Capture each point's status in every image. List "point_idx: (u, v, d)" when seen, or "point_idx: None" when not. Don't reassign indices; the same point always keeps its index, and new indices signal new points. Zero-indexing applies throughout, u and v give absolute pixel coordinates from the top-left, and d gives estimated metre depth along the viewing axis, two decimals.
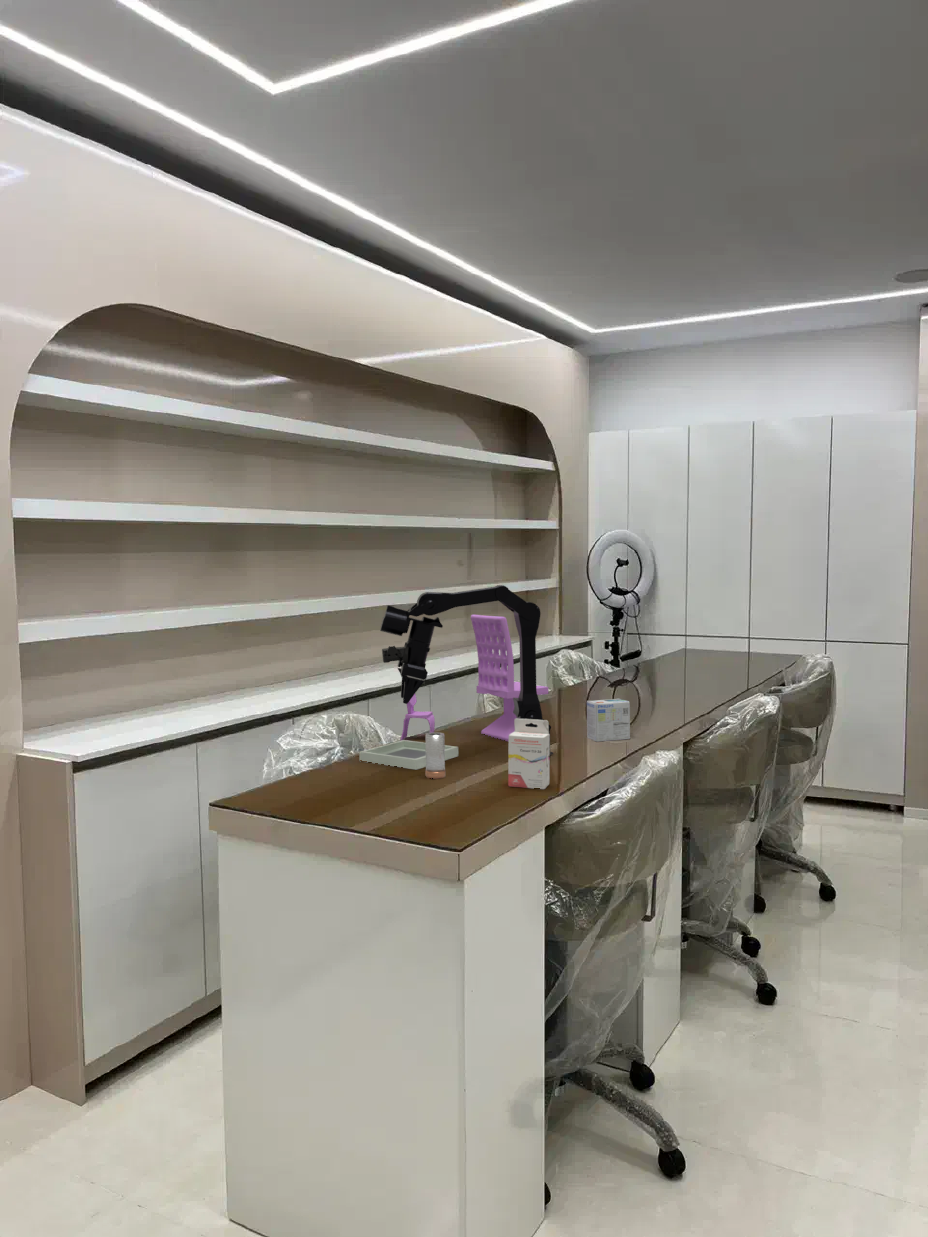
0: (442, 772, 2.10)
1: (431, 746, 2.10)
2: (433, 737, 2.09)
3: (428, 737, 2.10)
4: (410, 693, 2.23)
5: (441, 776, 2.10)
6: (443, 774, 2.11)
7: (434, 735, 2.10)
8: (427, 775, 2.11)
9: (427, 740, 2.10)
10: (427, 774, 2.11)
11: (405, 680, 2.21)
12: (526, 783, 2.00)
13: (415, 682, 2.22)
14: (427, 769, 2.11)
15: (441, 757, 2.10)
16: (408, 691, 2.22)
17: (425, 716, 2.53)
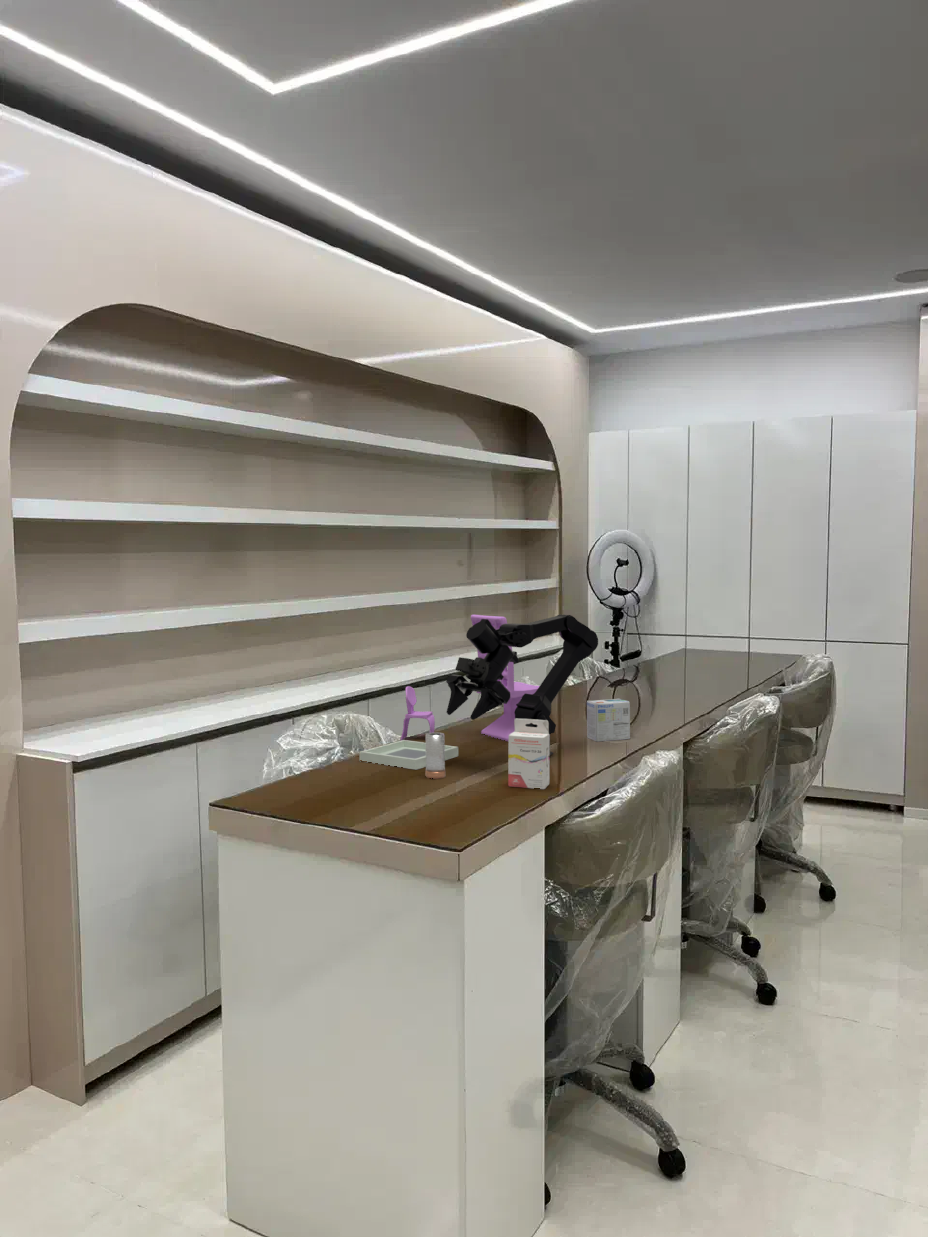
0: (442, 772, 2.10)
1: (431, 746, 2.10)
2: (433, 737, 2.09)
3: (428, 737, 2.10)
4: (482, 711, 2.14)
5: (441, 776, 2.10)
6: (443, 774, 2.11)
7: (434, 735, 2.10)
8: (427, 775, 2.11)
9: (427, 740, 2.10)
10: (427, 774, 2.11)
11: (486, 696, 2.13)
12: (526, 783, 2.00)
13: (490, 702, 2.15)
14: (427, 769, 2.11)
15: (441, 757, 2.10)
16: (481, 708, 2.14)
17: (425, 716, 2.53)
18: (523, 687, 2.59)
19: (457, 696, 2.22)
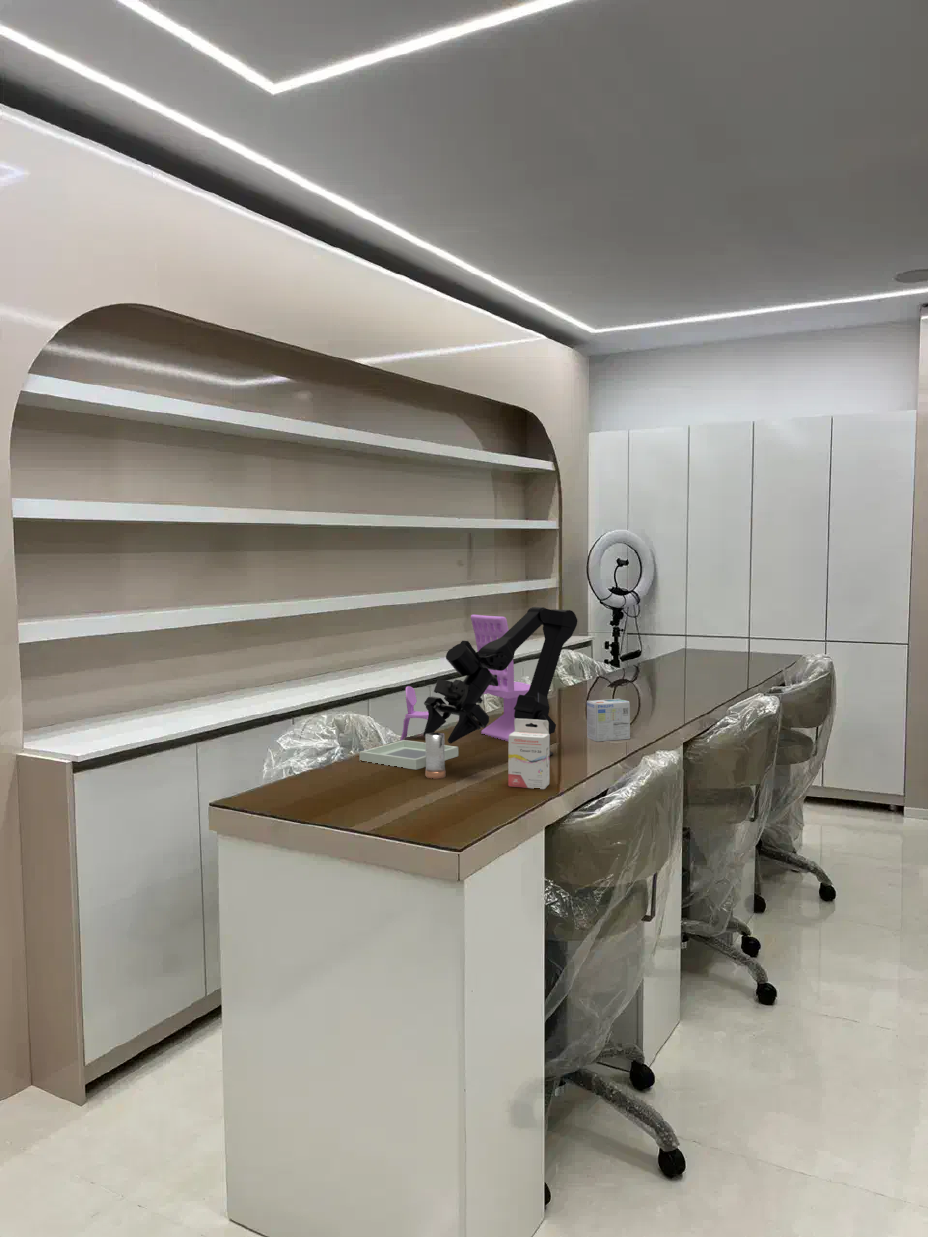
0: (442, 772, 2.10)
1: (431, 746, 2.10)
2: (433, 737, 2.09)
3: (428, 737, 2.10)
4: (459, 734, 2.09)
5: (441, 776, 2.10)
6: (443, 774, 2.11)
7: (434, 735, 2.10)
8: (427, 775, 2.11)
9: (427, 740, 2.10)
10: (427, 774, 2.11)
11: (464, 719, 2.08)
12: (526, 783, 2.00)
13: (469, 726, 2.10)
14: (427, 769, 2.11)
15: (441, 757, 2.10)
16: (459, 732, 2.09)
17: (425, 716, 2.53)
18: (523, 687, 2.59)
19: (435, 719, 2.18)
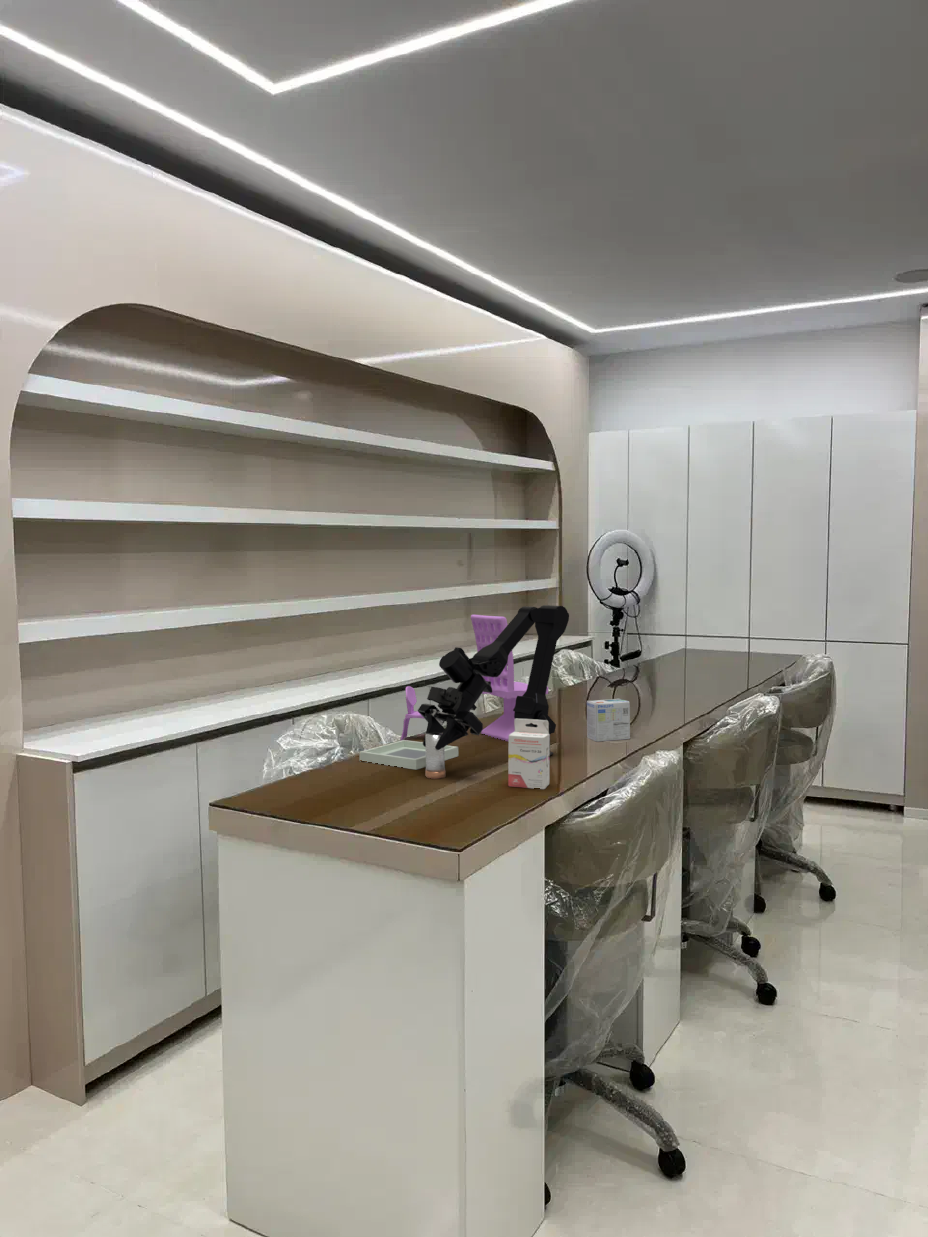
0: (442, 772, 2.10)
1: (431, 746, 2.10)
2: (433, 737, 2.09)
3: (428, 737, 2.10)
4: (447, 741, 2.10)
5: (441, 776, 2.10)
6: (443, 774, 2.11)
7: (434, 735, 2.10)
8: (427, 775, 2.11)
9: (427, 740, 2.10)
10: (427, 774, 2.11)
11: (451, 726, 2.09)
12: (526, 783, 2.00)
13: (456, 732, 2.11)
14: (427, 769, 2.11)
15: (441, 757, 2.10)
16: (447, 738, 2.09)
17: None
18: (523, 687, 2.59)
19: (434, 727, 2.15)
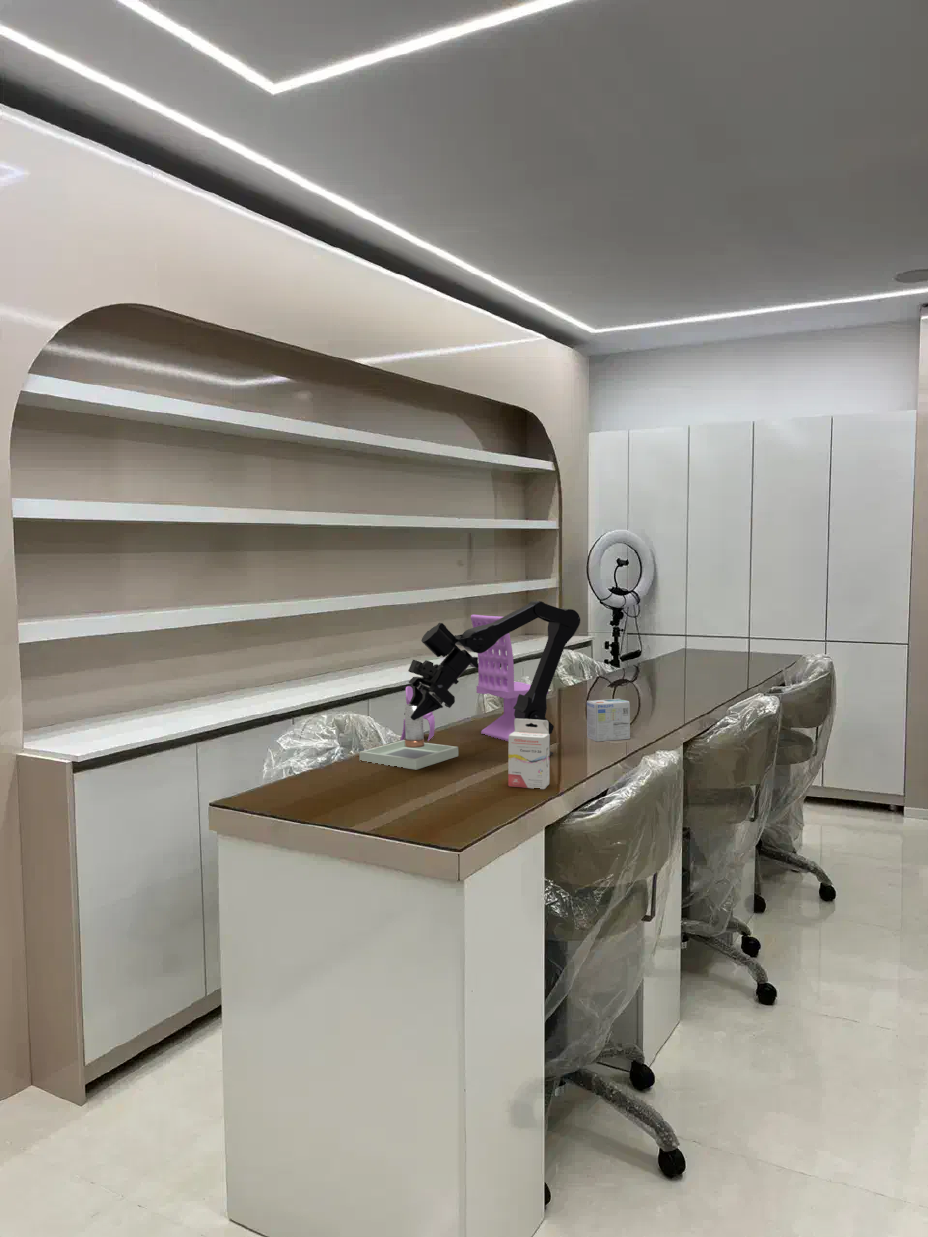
0: (418, 742, 2.19)
1: (407, 716, 2.19)
2: (409, 707, 2.19)
3: (405, 707, 2.19)
4: (422, 712, 2.18)
5: (417, 745, 2.19)
6: (420, 744, 2.19)
7: (411, 706, 2.19)
8: (405, 744, 2.20)
9: (405, 710, 2.20)
10: (405, 743, 2.20)
11: (426, 697, 2.17)
12: (526, 783, 2.00)
13: (432, 704, 2.18)
14: None
15: (417, 727, 2.19)
16: (422, 709, 2.18)
17: (425, 716, 2.53)
18: (523, 687, 2.59)
19: (417, 699, 2.24)
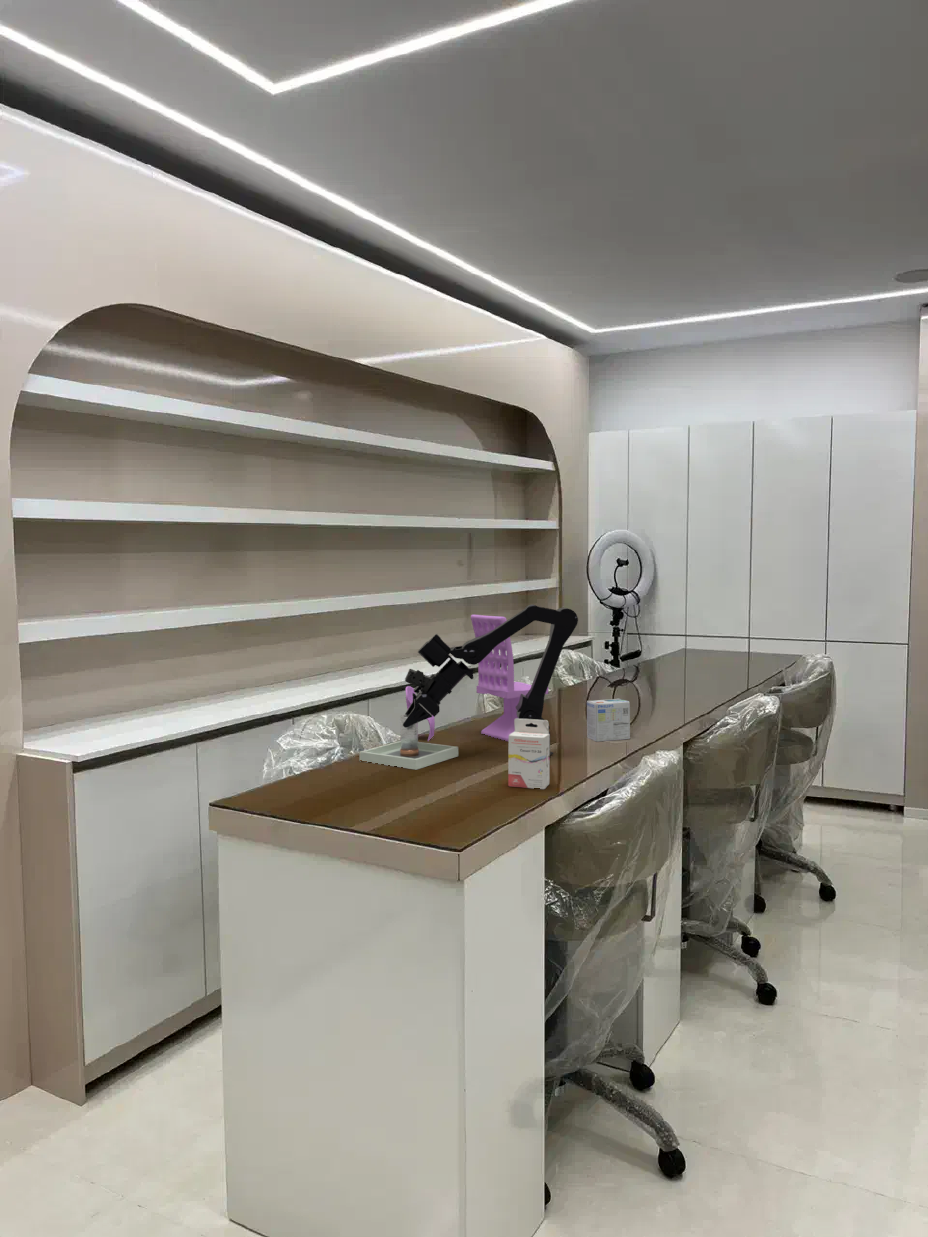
0: (411, 751, 2.29)
1: (401, 726, 2.30)
2: (402, 718, 2.29)
3: (400, 718, 2.30)
4: (413, 720, 2.26)
5: (409, 755, 2.29)
6: (412, 753, 2.29)
7: (405, 716, 2.30)
8: (400, 752, 2.31)
9: (400, 720, 2.31)
10: (400, 751, 2.31)
11: (416, 706, 2.25)
12: (526, 783, 2.00)
13: (423, 713, 2.26)
14: None
15: (410, 737, 2.29)
16: (413, 717, 2.26)
17: None
18: (523, 687, 2.59)
19: None
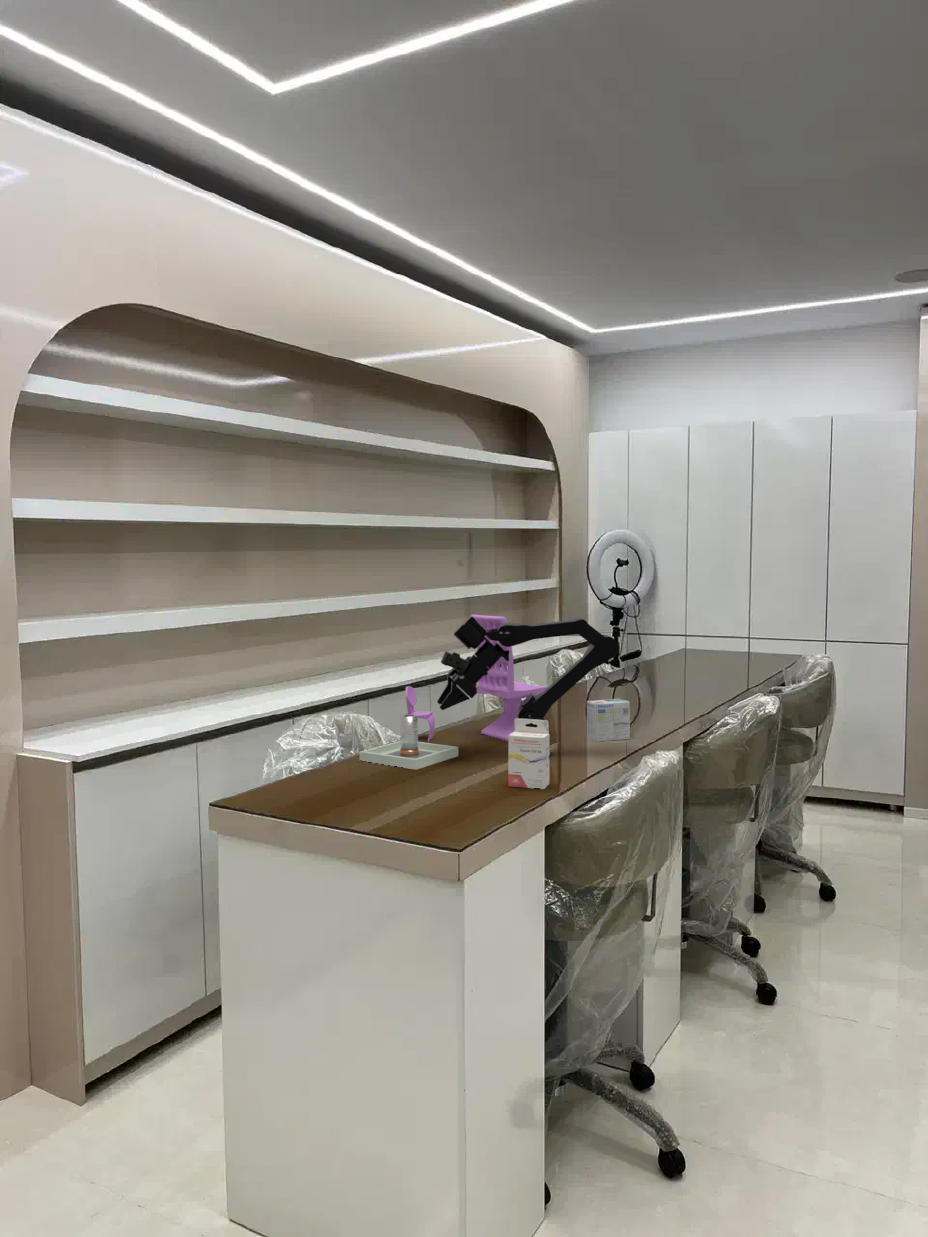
0: (411, 751, 2.29)
1: (401, 726, 2.30)
2: (402, 718, 2.29)
3: (400, 718, 2.30)
4: (450, 702, 2.26)
5: (409, 755, 2.29)
6: (412, 753, 2.29)
7: (405, 716, 2.30)
8: (400, 752, 2.31)
9: (400, 720, 2.31)
10: (400, 751, 2.31)
11: (453, 689, 2.25)
12: (526, 783, 2.00)
13: (460, 695, 2.26)
14: None
15: (410, 737, 2.29)
16: (450, 700, 2.26)
17: (425, 716, 2.53)
18: (523, 687, 2.59)
19: (450, 688, 2.36)
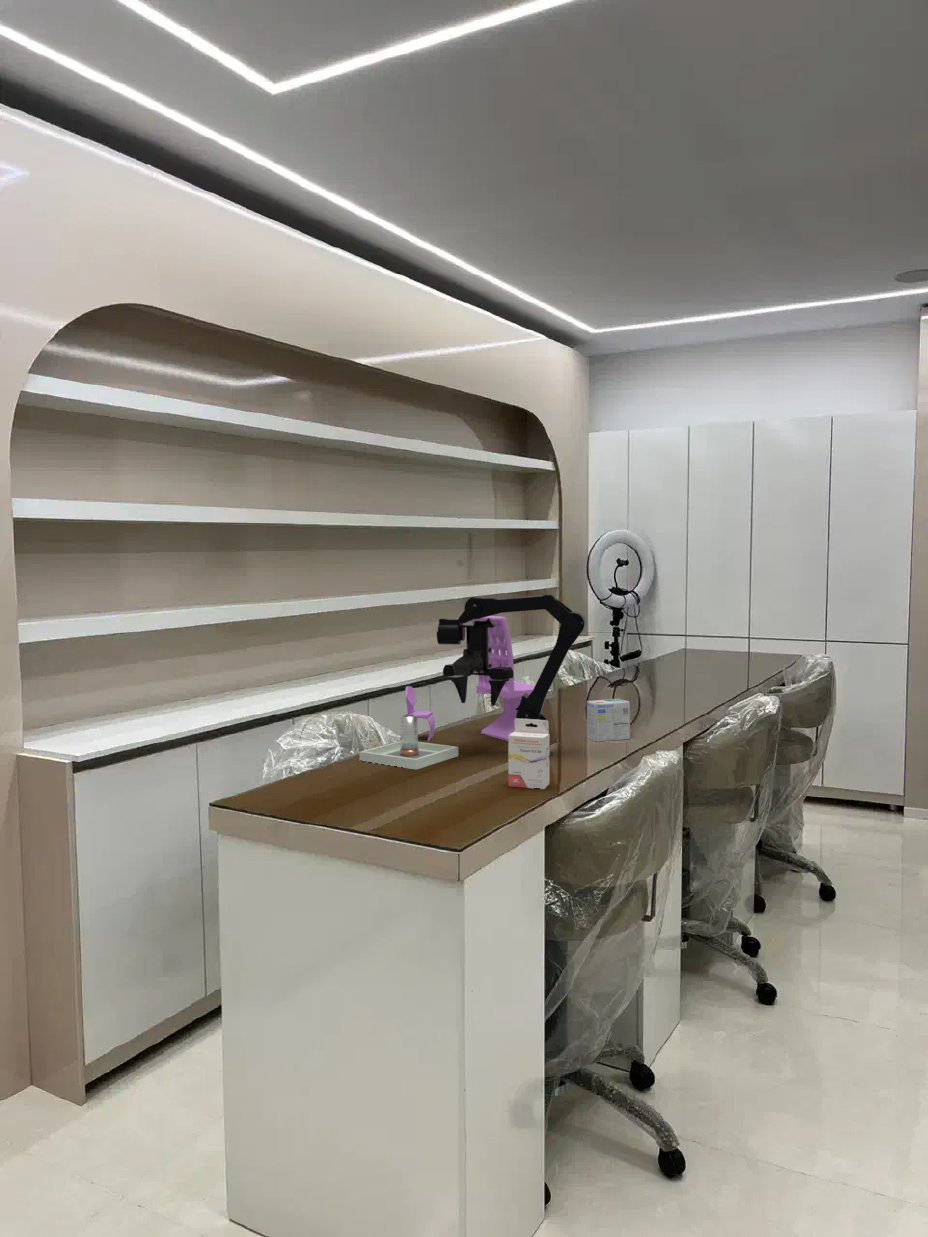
0: (411, 751, 2.29)
1: (401, 726, 2.30)
2: (402, 718, 2.29)
3: (400, 718, 2.30)
4: (497, 694, 2.33)
5: (409, 755, 2.29)
6: (412, 753, 2.29)
7: (405, 716, 2.30)
8: (400, 752, 2.31)
9: (400, 720, 2.31)
10: (400, 751, 2.31)
11: (496, 684, 2.30)
12: (526, 783, 2.00)
13: (499, 683, 2.33)
14: None
15: (410, 737, 2.29)
16: (496, 693, 2.32)
17: (425, 716, 2.53)
18: (523, 687, 2.59)
19: (461, 684, 2.38)
